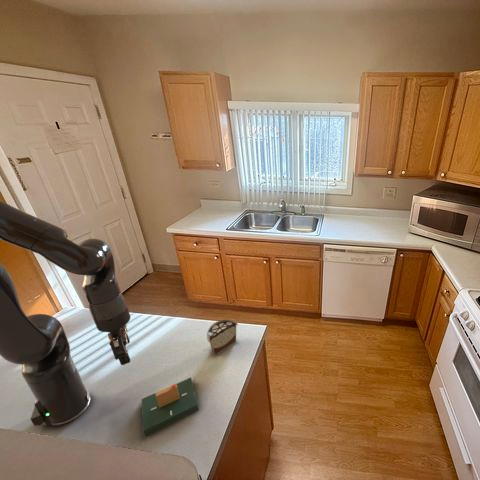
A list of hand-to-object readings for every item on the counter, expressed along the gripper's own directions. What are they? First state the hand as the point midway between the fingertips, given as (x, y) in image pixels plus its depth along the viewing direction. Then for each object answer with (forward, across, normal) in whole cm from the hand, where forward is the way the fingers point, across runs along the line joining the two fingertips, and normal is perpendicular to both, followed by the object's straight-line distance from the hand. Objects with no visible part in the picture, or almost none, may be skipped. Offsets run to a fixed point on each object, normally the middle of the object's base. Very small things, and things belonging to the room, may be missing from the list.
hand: (125, 353), depth 76 cm
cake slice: (+18, -6, +28) cm, 34 cm away
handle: (+15, +11, +7) cm, 20 cm away
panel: (+17, +11, +7) cm, 22 cm away
